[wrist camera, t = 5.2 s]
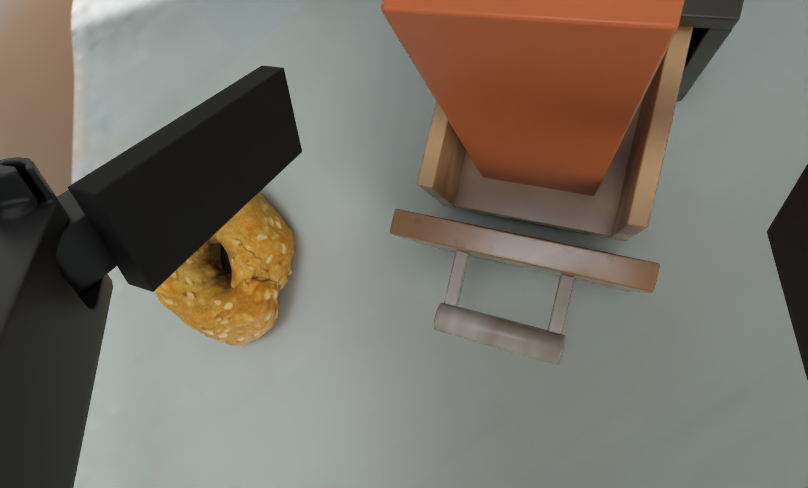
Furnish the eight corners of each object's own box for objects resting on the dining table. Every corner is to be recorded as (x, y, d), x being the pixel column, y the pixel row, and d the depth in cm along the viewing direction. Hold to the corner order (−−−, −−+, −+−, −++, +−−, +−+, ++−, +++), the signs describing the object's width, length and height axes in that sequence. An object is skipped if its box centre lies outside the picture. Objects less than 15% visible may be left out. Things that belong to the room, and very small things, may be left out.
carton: (616, 103, 24) (738, -233, 9) (594, 196, 24) (678, 28, 8) (501, 90, 26) (430, -206, 10) (481, 176, 26) (379, 9, 10)
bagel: (199, 360, 33) (143, 371, 28) (170, 214, 35) (113, 203, 30) (321, 322, 30) (281, 328, 26) (283, 167, 32) (239, 148, 28)
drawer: (610, 368, 24) (630, 394, 18) (407, 311, 28) (368, 318, 22) (681, 60, 24) (723, -13, 19) (470, 43, 28) (449, -24, 22)
